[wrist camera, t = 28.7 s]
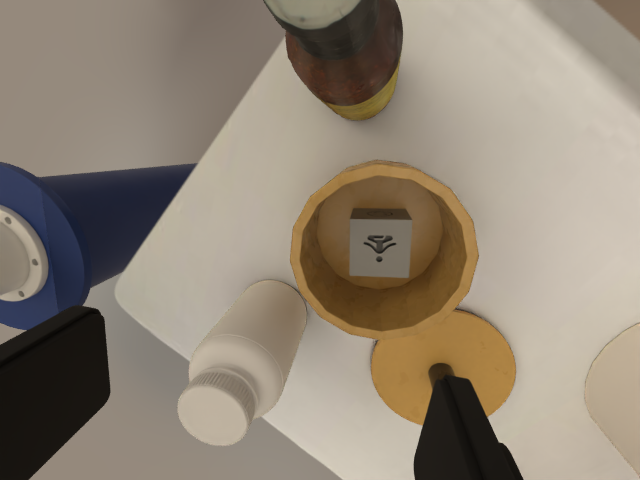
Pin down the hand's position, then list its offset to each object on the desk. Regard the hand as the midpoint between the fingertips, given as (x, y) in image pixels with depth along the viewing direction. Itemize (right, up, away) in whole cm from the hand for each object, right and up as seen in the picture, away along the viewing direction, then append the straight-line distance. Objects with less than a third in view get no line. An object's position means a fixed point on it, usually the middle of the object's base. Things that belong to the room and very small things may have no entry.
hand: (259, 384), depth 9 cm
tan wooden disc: (+15, -10, +26) cm, 31 cm away
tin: (+7, +5, +23) cm, 25 cm away
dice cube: (+7, +5, +23) cm, 24 cm away
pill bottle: (-4, -4, +28) cm, 28 cm away
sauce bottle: (+5, +18, +20) cm, 27 cm away
